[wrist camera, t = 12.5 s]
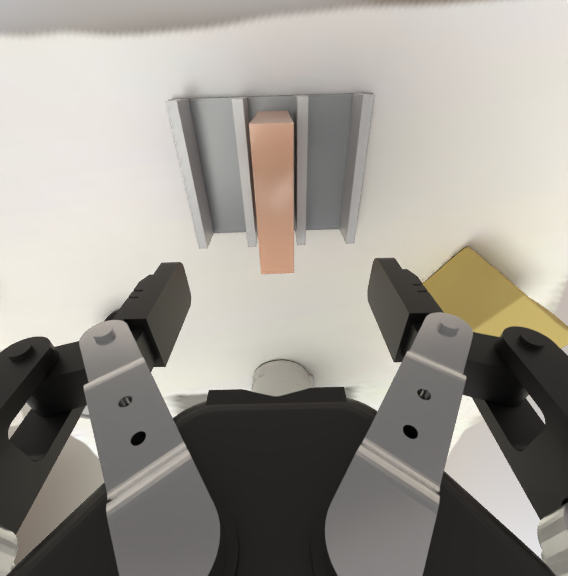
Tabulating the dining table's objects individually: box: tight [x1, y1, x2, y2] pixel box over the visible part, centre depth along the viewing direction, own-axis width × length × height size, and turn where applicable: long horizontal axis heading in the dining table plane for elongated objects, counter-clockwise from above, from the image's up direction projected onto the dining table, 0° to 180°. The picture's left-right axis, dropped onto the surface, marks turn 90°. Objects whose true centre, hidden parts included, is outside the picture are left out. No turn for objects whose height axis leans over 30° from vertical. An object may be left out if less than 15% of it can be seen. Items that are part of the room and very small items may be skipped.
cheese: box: [423, 247, 568, 349], centre depth 33 cm, size 10×11×10 cm
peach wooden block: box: [249, 110, 294, 274], centre depth 23 cm, size 2×10×10 cm, turn 1°
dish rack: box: [166, 93, 374, 249], centre depth 26 cm, size 17×12×4 cm
